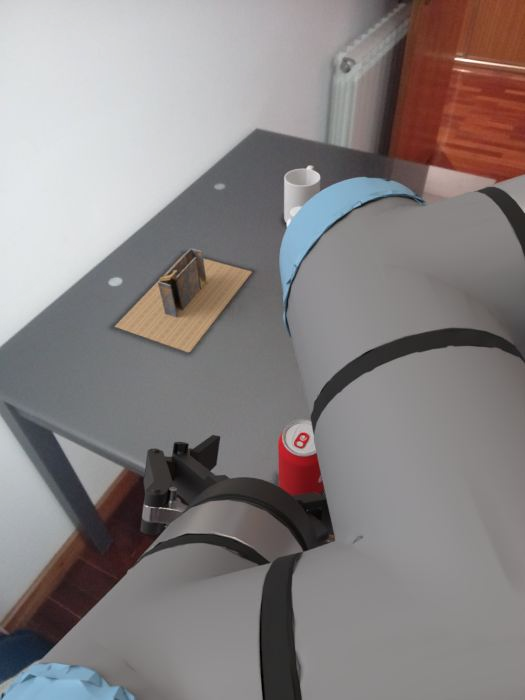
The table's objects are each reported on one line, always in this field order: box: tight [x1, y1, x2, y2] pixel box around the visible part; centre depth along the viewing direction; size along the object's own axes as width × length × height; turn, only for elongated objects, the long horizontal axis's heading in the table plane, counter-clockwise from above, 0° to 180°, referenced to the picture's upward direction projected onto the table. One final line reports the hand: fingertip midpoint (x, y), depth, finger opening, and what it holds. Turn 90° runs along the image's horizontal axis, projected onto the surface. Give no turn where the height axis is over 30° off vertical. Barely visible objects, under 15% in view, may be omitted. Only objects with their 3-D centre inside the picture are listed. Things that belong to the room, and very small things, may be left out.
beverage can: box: [277, 418, 324, 495], centre depth 64 cm, size 6×6×12 cm
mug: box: [283, 165, 321, 224], centre depth 112 cm, size 12×8×10 cm, turn 161°
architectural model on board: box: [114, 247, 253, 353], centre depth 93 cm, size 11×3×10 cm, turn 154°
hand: (287, 463), depth 44 cm, fingers open, 13 cm apart
